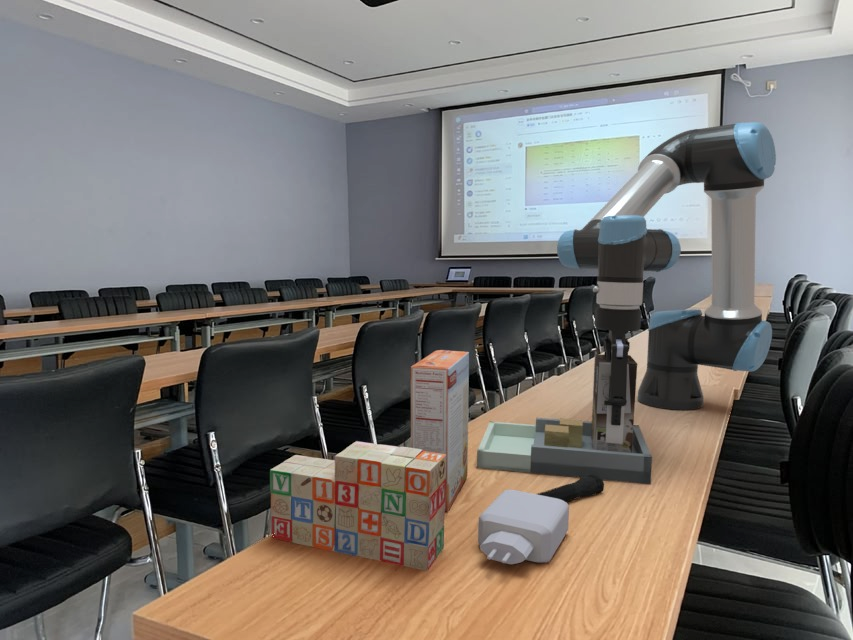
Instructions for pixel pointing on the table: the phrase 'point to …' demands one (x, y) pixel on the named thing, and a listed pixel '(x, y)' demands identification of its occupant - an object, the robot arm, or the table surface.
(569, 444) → the tan wooden cube
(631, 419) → the coffee box
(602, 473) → the blue gray tray
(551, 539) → the charger
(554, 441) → the tan yellow cube
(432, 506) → the stack of blocks
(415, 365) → the cracker box
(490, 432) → the tray
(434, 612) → the table surface
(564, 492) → the flashlight
